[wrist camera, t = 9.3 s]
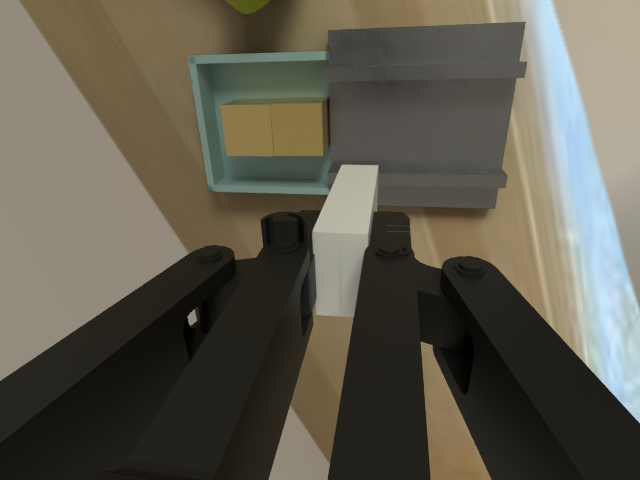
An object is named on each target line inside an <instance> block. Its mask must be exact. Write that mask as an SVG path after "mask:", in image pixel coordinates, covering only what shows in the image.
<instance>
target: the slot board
mask: <svg viewBox="0 0 640 480" xmlns="http://www.w3.org/2000/svg"><path fill="white" fill-rule="evenodd" d="M525 23H526V22H512V23H488V24H465V25H442V26H418V27H395V28H372V29H349V30H328V49H329V66H328V67H325V82H329V95H330V142H331V167H330V169H329V171H328V173H327V174H328V184H331V188H332V186H333V183H334V181H335V179H336V177H337V174H338V172H339V170H340V168H341V165H378V197H377V205H385V206H419V207H452V208H486V209H495V205H496V199H497V193H498V188H505V187H506V181H507V174H506V173H505V172H504V171H503V170H502V163H503V157H504V151H505V145H506V138H507V132H508V126H509V120H510V114H511V108H512V102H513V96H514V90H515V84H516V78H524V77H525V71H526V65H527V62H523V61H519V59H520V53H521V47H522V41H523V35H524V29H525Z"/></svg>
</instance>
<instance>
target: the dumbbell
mask: <svg viewBox="0 0 640 480" xmlns="http://www.w3.org/2000/svg"><path fill="white" fill-rule="evenodd" d="M225 1H226V2H228V3H229V4H230V5H231V6H232V7H234V8H235V9H236V10H238V11H239V12H241V13H243V14H251V13H254V12H256V11H258V10H259V9H261V8H262V7H263V6H265V5H266V4H267V3H268V2H270V1H271V0H225Z"/></svg>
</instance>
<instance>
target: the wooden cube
mask: <svg viewBox="0 0 640 480" xmlns="http://www.w3.org/2000/svg"><path fill="white" fill-rule="evenodd" d="M270 112H271V123H272V135H273V147H274V156H324V154H325V153H326V151H327V150H328V148H329V147H330V145H331V142H330V97H286V98H281V99H279V100H277V101H275V102H273V103H270Z"/></svg>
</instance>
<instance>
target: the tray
mask: <svg viewBox="0 0 640 480" xmlns="http://www.w3.org/2000/svg"><path fill="white" fill-rule="evenodd" d="M187 57H188V63H189V69H190V76H191V82H192V88H193V95H194V101H195V107H196V113H197V120H198V126H199V132H200V139H201V145H202V151H203V158H204V164H205V170H206V176H207V183H208V189H209V192H244V193H282V194H320V195H329V192H330V190H331V184H328V174H327V173H328V171H329V169H330V167H331V145H330V147H329V148H328V150H327V151H326V153H325V154H324V156H227V153H226V145H225V137H224V130H223V122H222V115H221V107H220V105H222V104H225V103H228V102H230V101H233V100H236V99H261V98H286V97H330V95H329V82H325V67H328V66H329V51H301V52H272V53H242V54H213V55H192V56H187Z"/></svg>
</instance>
